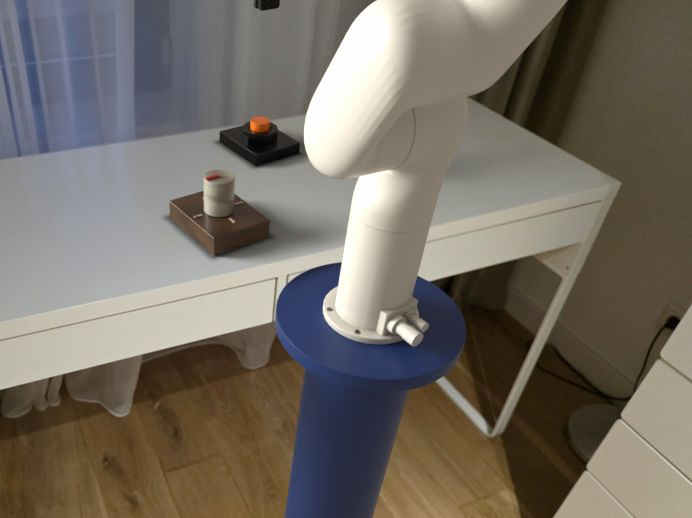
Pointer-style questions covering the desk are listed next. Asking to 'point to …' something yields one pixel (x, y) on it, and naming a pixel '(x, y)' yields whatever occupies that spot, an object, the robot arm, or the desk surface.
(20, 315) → the desk surface
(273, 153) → the button box
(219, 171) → the knob
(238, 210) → the panel
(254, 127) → the button
